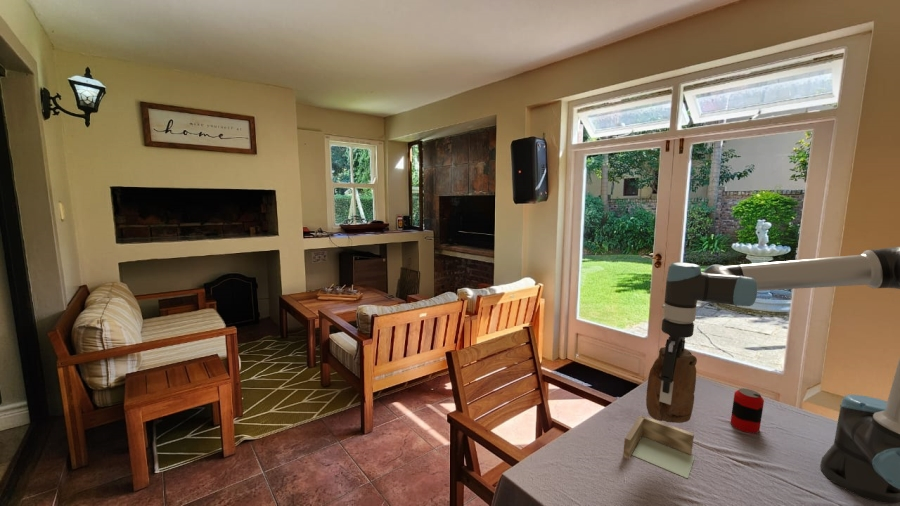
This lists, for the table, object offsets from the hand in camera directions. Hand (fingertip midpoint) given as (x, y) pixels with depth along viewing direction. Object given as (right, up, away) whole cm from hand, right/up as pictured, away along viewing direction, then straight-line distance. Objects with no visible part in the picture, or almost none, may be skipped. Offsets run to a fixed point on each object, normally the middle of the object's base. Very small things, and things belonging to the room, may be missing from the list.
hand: (669, 394), depth 108 cm
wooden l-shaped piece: (-1, -19, +4) cm, 20 cm away
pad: (0, -19, +3) cm, 20 cm away
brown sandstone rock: (0, -7, +1) cm, 7 cm away
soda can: (+35, -17, +18) cm, 43 cm away
